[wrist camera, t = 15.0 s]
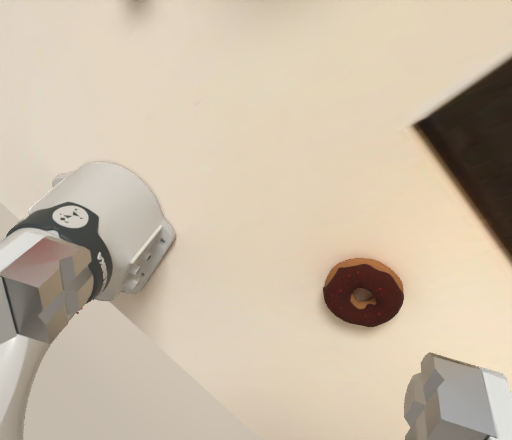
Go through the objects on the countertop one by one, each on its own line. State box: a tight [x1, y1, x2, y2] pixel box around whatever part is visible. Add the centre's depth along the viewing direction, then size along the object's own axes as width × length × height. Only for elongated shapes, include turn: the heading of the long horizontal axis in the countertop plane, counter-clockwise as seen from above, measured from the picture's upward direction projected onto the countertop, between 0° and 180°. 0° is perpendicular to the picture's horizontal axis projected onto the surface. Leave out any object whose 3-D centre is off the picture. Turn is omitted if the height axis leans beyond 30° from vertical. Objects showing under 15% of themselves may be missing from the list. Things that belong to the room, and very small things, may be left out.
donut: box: [323, 258, 404, 327], centre depth 53 cm, size 10×10×4 cm
